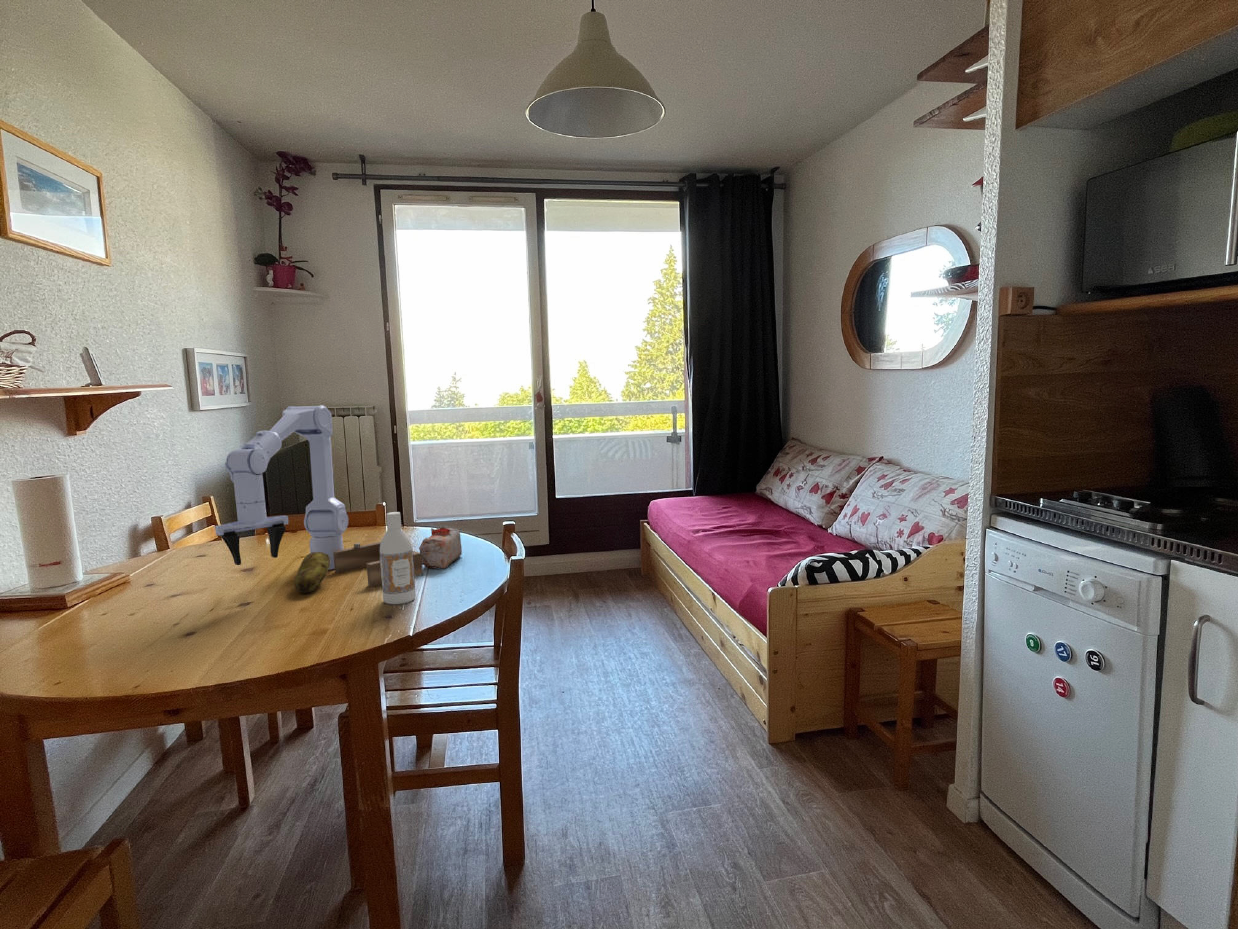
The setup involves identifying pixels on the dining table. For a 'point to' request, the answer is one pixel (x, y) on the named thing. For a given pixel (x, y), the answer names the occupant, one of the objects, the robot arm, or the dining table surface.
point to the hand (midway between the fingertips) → (256, 560)
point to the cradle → (368, 561)
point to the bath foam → (396, 563)
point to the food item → (441, 548)
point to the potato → (311, 571)
